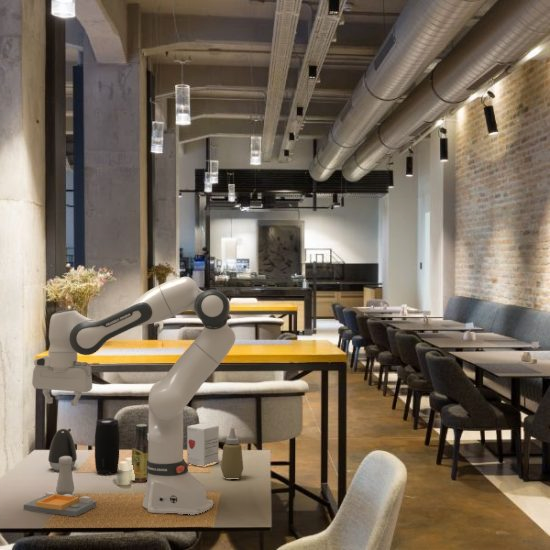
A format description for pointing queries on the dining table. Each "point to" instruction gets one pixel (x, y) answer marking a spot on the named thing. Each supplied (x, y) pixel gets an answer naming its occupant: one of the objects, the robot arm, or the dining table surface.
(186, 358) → the robot arm
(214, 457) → the supplement box
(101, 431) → the portable speaker
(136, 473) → the sauce bottle
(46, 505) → the panel
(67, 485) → the salt shaker
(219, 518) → the dining table surface
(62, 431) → the black rounded piece
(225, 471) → the squeeze bottle
